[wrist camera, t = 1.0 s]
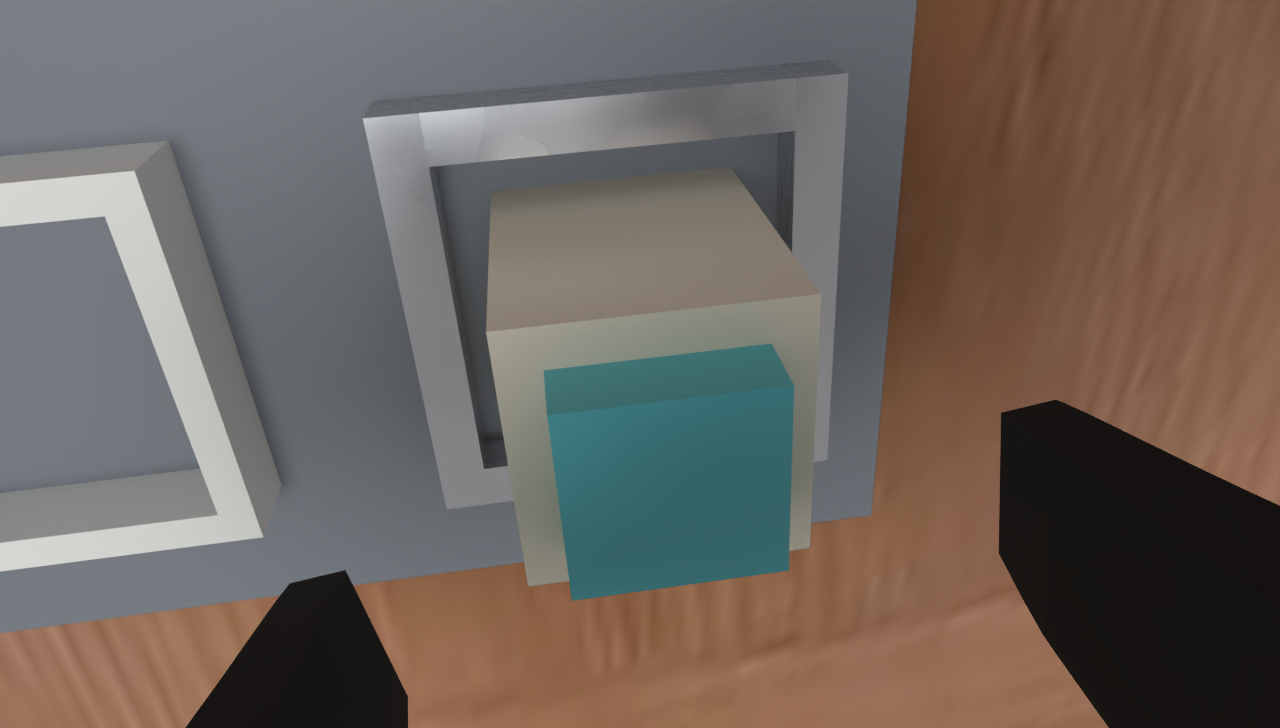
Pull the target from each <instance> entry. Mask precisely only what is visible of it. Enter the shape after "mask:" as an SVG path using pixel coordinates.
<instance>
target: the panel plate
mask: <svg viewBox="0 0 1280 728" xmlns="http://www.w3.org/2000/svg"><path fill="white" fill-rule="evenodd" d="M916 5H917V0H0V156H8V155H18V154H29V153H40V152H51V151H61V150H72V149H83V148H93V147H104V146H115V145H125V144H136V143H147V142H157V141H168V140H169V142H170V145H171V148H172V151H173V154H174V157H175V160H176V163H177V167H178V170H179V173H180V176H181V179H182V182H183V185H184V188H185V191H186V194H187V197H188V200H189V203H190V206H191V209H192V212H193V216H194V219H195V222H196V225H197V228H198V231H199V234H200V237H201V240H202V243H203V246H204V249H205V252H206V255H207V258H208V261H209V265H210V268H211V271H212V274H213V277H214V280H215V283H216V286H217V289H218V292H219V295H220V298H221V301H222V304H223V307H224V310H225V314H226V317H227V320H228V323H229V326H230V329H231V332H232V335H233V338H234V341H235V344H236V347H237V350H238V353H239V356H240V359H241V363H242V366H243V369H244V372H245V375H246V378H247V381H248V384H249V387H250V390H251V393H252V396H253V399H254V402H255V405H256V408H257V411H258V415H259V418H260V421H261V424H262V427H263V430H264V433H265V436H266V439H267V442H268V445H269V448H270V451H271V454H272V457H273V460H274V464H275V467H276V470H277V473H278V476H279V479H280V482H281V488H280V491H279V494H278V497H277V500H276V503H275V505H274V508H273V511H272V514H271V517H270V520H269V523H268V526H267V528H266V531H265V534H264V537H262V538H255V539H247V540H239V541H231V542H224V543H216V544H208V545H201V546H193V547H185V548H178V549H170V550H162V551H155V552H147V553H139V554H131V555H124V556H116V557H108V558H101V559H93V560H85V561H78V562H70V563H62V564H55V565H47V566H39V567H31V568H24V569H16V570H8V571H1V572H0V633H4V632H12V631H19V630H27V629H34V628H41V627H49V626H56V625H64V624H71V623H78V622H86V621H93V620H100V619H108V618H115V617H123V616H130V615H137V614H145V613H152V612H160V611H167V610H174V609H182V608H189V607H197V606H204V605H211V604H219V603H226V602H233V601H241V600H248V599H256V598H263V597H270V596H278V595H281V594H282V593H283V591H284V590H285V589H286V587H287V586H288V585H289V583H293V582H297V581H301V580H306V579H310V578H314V577H318V576H322V575H327V574H331V573H335V572H339V571H343V570H346V572H347V574H348V576H349V578H350V580H351V582H352V584H353V585H359V584H366V583H374V582H381V581H389V580H396V579H403V578H411V577H418V576H425V575H433V574H440V573H448V572H455V571H462V570H470V569H477V568H485V567H492V566H499V565H507V564H514V563H522V562H524V558H523V552H522V546H521V540H520V534H519V528H518V522H517V516H516V510H515V504H514V501H508V502H501V503H493V504H485V505H478V506H470V507H462V508H454V509H446V504H445V500H444V495H443V490H442V486H441V481H440V476H439V472H438V467H437V462H436V458H435V453H434V448H433V444H432V439H431V434H430V430H429V425H428V420H427V416H426V411H425V406H424V402H423V397H422V392H421V388H420V383H419V378H418V374H417V369H416V364H415V360H414V355H413V350H412V346H411V341H410V336H409V332H408V327H407V322H406V318H405V313H404V308H403V304H402V299H401V294H400V290H399V285H398V281H397V276H396V271H395V267H394V262H393V257H392V253H391V248H390V243H389V239H388V234H387V229H386V225H385V220H384V215H383V211H382V206H381V201H380V197H379V192H378V187H377V183H376V178H375V173H374V169H373V164H372V159H371V155H370V150H369V145H368V141H367V136H366V131H365V127H364V122H363V117H364V115H365V113H366V111H367V109H368V107H369V105H370V103H371V102H372V101H383V100H394V99H405V98H416V97H427V96H438V95H449V94H460V93H470V92H481V91H492V90H503V89H514V88H525V87H536V86H547V85H558V84H569V83H579V82H590V81H601V80H612V79H623V78H634V77H645V76H656V75H667V74H678V73H688V72H699V71H710V70H721V69H732V68H743V67H754V66H765V65H776V64H786V63H797V62H808V61H819V60H829V61H831V62H832V63H834V64H835V65H837V66H838V67H840V68H841V69H843V70H844V71H846V72H847V73H848V91H847V109H846V128H845V146H844V164H843V182H842V201H841V219H840V237H839V255H838V274H837V292H836V310H835V328H834V346H833V365H832V383H831V401H830V419H829V438H828V456H827V460H825V461H817V462H814V465H813V487H812V509H811V523H817V522H824V521H832V520H839V519H847V518H854V517H861V516H869V515H871V513H872V502H873V490H874V479H875V468H876V457H877V445H878V434H879V423H880V411H881V400H882V389H883V377H884V366H885V355H886V344H887V332H888V321H889V310H890V298H891V287H892V276H893V265H894V253H895V242H896V231H897V219H898V208H899V197H900V185H901V174H902V163H903V152H904V140H905V129H906V118H907V106H908V95H909V84H910V72H911V61H912V50H913V39H914V27H915V16H916ZM777 156H778V133H770V134H760V135H749V136H739V137H729V138H719V139H709V140H698V141H688V142H678V143H668V144H658V145H648V146H637V147H627V148H617V149H607V150H597V151H586V152H576V153H566V154H556V155H546V156H536V157H525V158H515V159H505V160H495V161H485V162H474V163H464V164H454V165H444V166H437V172H438V178H439V183H440V189H441V194H442V200H443V206H444V211H445V217H446V222H447V228H448V234H449V239H450V245H451V251H452V256H453V262H454V267H455V273H456V279H457V284H458V290H459V295H460V301H461V307H462V312H463V318H464V323H465V329H466V335H467V340H468V346H469V352H470V357H471V363H472V368H473V374H474V380H475V385H476V391H477V396H478V402H479V408H480V413H481V419H482V424H483V430H484V436H485V438H487V437H495V436H503V431H502V425H501V419H500V413H499V407H498V401H497V395H496V389H495V383H494V377H493V371H492V365H491V359H490V353H489V347H488V341H487V335H486V320H487V291H488V263H489V234H490V206H491V191H496V190H506V189H516V188H526V187H536V186H546V185H556V184H566V183H575V182H585V181H595V180H605V179H615V178H625V177H635V176H645V175H655V174H665V173H675V172H684V171H694V170H704V169H714V168H724V167H731V168H732V169H733V171H734V172H735V174H736V175H737V176H738V178H739V179H740V181H741V182H742V183H743V185H744V186H745V188H746V189H747V190H748V192H749V193H750V195H751V196H752V197H753V199H754V200H755V202H756V203H757V204H758V206H759V207H760V209H761V210H762V211H763V213H764V214H765V216H766V217H767V218H768V220H769V221H770V223H771V224H772V225H773V227H774V228H775V230H776V215H777ZM199 468H200V466H199V464H198V461H197V459H196V456H195V453H194V451H193V448H192V445H191V443H190V440H189V437H188V435H187V432H186V430H185V427H184V424H183V422H182V419H181V416H180V414H179V411H178V408H177V406H176V403H175V401H174V398H173V395H172V393H171V390H170V387H169V385H168V382H167V379H166V377H165V374H164V372H163V369H162V366H161V364H160V361H159V358H158V356H157V353H156V350H155V348H154V345H153V342H152V340H151V337H150V335H149V332H148V329H147V327H146V324H145V321H144V319H143V316H142V313H141V311H140V308H139V306H138V303H137V300H136V298H135V295H134V292H133V290H132V287H131V284H130V282H129V279H128V277H127V274H126V271H125V269H124V266H123V263H122V261H121V258H120V255H119V253H118V250H117V248H116V245H115V242H114V240H113V237H112V234H111V232H110V229H109V226H108V224H107V221H106V219H105V216H104V217H94V218H84V219H74V220H64V221H54V222H44V223H34V224H24V225H14V226H4V227H0V493H5V492H13V491H21V490H29V489H37V488H45V487H53V486H61V485H70V484H78V483H86V482H94V481H102V480H110V479H118V478H126V477H134V476H143V475H151V474H159V473H167V472H175V471H183V470H191V469H199Z"/></svg>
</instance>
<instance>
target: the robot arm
mask: <svg viewBox="0 0 1280 728" xmlns="http://www.w3.org/2000/svg"><path fill="white" fill-rule="evenodd" d="M999 554H1000V556H1001V558H1002V560H1003V562H1004V564H1005V566H1006V568H1007V570H1008V572H1009V573H1010V575H1011V577H1012V579H1013V581H1014V583H1015V585H1016V587H1017V589H1018V591H1019V593H1020V594H1021V596H1022V598H1023V600H1024V602H1025V604H1026V605H1027V607H1028V609H1029V611H1030V612H1031V614H1032V616H1033V618H1034V620H1035V621H1036V623H1037V625H1038V627H1039V629H1040V630H1041V632H1042V634H1043V635H1044V637H1045V638H1046V640H1047V641H1048V643H1049V644H1050V646H1051V647H1052V648H1053V650H1054V651H1055V653H1056V654H1057V656H1058V657H1059V658H1060V660H1061V661H1062V663H1063V664H1064V665H1065V667H1066V668H1067V670H1068V671H1069V673H1070V674H1071V675H1072V677H1073V678H1074V680H1075V681H1076V682H1077V684H1078V685H1079V687H1080V688H1081V689H1082V691H1083V692H1084V694H1085V695H1086V696H1087V698H1088V699H1089V701H1090V702H1091V703H1092V705H1093V706H1094V708H1095V709H1096V710H1097V712H1098V713H1099V715H1100V716H1101V717H1102V719H1103V720H1104V721H1105V723H1106V724H1107V726H1108V727H1109V728H1280V506H1279V505H1277V504H1275V503H1272V502H1270V501H1268V500H1266V499H1264V498H1262V497H1259V496H1257V495H1255V494H1253V493H1251V492H1249V491H1246V490H1244V489H1242V488H1240V487H1238V486H1236V485H1234V484H1232V483H1229V482H1227V481H1225V480H1223V479H1221V478H1219V477H1217V476H1215V475H1212V474H1210V473H1208V472H1206V471H1204V470H1202V469H1200V468H1198V467H1196V466H1194V465H1192V464H1190V463H1188V462H1185V461H1183V460H1181V459H1179V458H1177V457H1175V456H1173V455H1171V454H1169V453H1167V452H1165V451H1163V450H1161V449H1159V448H1157V447H1155V446H1153V445H1151V444H1149V443H1147V442H1145V441H1143V440H1141V439H1138V438H1136V437H1134V436H1132V435H1130V434H1128V433H1126V432H1124V431H1122V430H1120V429H1118V428H1116V427H1114V426H1112V425H1110V424H1108V423H1106V422H1104V421H1102V420H1100V419H1097V418H1095V417H1093V416H1091V415H1089V414H1087V413H1085V412H1083V411H1081V410H1078V409H1076V408H1074V407H1072V406H1069V405H1067V404H1065V403H1063V402H1060V401H1058V400H1053V401H1049V402H1044V403H1040V404H1036V405H1032V406H1028V407H1024V408H1019V409H1015V410H1011V411H1007V412H1003V413H1001V458H1000V517H999ZM186 728H408V696H407V694H406V692H405V690H404V688H403V686H402V684H401V682H400V680H399V678H398V676H397V674H396V672H395V670H394V668H393V666H392V664H391V662H390V660H389V658H388V656H387V653H386V651H385V649H384V647H383V645H382V643H381V641H380V639H379V637H378V635H377V633H376V631H375V629H374V627H373V625H372V623H371V621H370V619H369V617H368V615H367V613H366V611H365V609H364V607H363V605H362V603H361V601H360V599H359V596H358V594H357V592H356V590H355V588H354V586H353V584H352V582H351V580H350V578H349V576H348V574H347V572H346V570H343V571H339V572H335V573H331V574H327V575H322V576H318V577H314V578H310V579H306V580H301V581H297V582H293V583H289V585H288V586H287V587H286V589H285V590H284V591H283V593H282V594H281V595H280V597H279V598H278V599H277V601H276V602H275V603H274V605H273V606H272V607H271V609H270V610H269V612H268V613H267V614H266V616H265V617H264V619H263V620H262V621H261V623H260V624H259V626H258V627H257V628H256V630H255V631H254V633H253V634H252V636H251V637H250V638H249V640H248V641H247V643H246V644H245V646H244V647H243V648H242V650H241V651H240V653H239V654H238V655H237V657H236V658H235V660H234V661H233V663H232V664H231V665H230V667H229V668H228V670H227V671H226V672H225V674H224V675H223V677H222V678H221V680H220V681H219V682H218V684H217V685H216V687H215V688H214V689H213V691H212V692H211V693H210V695H209V696H208V698H207V699H206V700H205V702H204V703H203V704H202V706H201V707H200V709H199V710H198V711H197V713H196V714H195V715H194V717H193V718H192V720H191V721H190V722H189V724H188V725H187V726H186Z"/></svg>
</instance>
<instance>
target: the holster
mask: <svg viewBox="0 0 1280 728" xmlns="http://www.w3.org/2000/svg"><path fill="white" fill-rule="evenodd" d="M847 91H848V73H847V72H846V71H844V70H843V69H841V68H840V67H838V66H837V65H835V64H834V63H832V62H831V61H829V60H819V61H808V62H797V63H786V64H776V65H765V66H754V67H743V68H732V69H721V70H710V71H699V72H688V73H678V74H667V75H656V76H645V77H634V78H623V79H612V80H601V81H590V82H579V83H569V84H558V85H547V86H536V87H525V88H514V89H503V90H492V91H481V92H470V93H460V94H449V95H438V96H427V97H416V98H405V99H394V100H383V101H372V102H371V103H370V105H369V107H368V109H367V111H366V113H365V115H364V117H363V122H364V127H365V131H366V136H367V141H368V145H369V150H370V155H371V159H372V164H373V169H374V173H375V178H376V183H377V187H378V192H379V197H380V201H381V206H382V211H383V215H384V220H385V225H386V229H387V234H388V239H389V243H390V248H391V253H392V257H393V262H394V267H395V271H396V276H397V281H398V285H399V290H400V294H401V299H402V304H403V308H404V313H405V318H406V322H407V327H408V332H409V336H410V341H411V346H412V350H413V355H414V360H415V364H416V369H417V374H418V378H419V383H420V388H421V392H422V397H423V402H424V406H425V411H426V416H427V420H428V425H429V430H430V434H431V439H432V444H433V448H434V453H435V458H436V462H437V467H438V472H439V476H440V481H441V486H442V490H443V495H444V500H445V504H446V509H454V508H462V507H470V506H478V505H485V504H493V503H501V502H508V501H514V498H513V492H512V486H511V480H510V474H509V468H508V462H507V456H506V450H505V443H504V437H503V436H495V437H487V438H485V436H484V430H483V424H482V419H481V413H480V408H479V402H478V396H477V391H476V385H475V380H474V374H473V368H472V363H471V357H470V352H469V346H468V340H467V335H466V329H465V323H464V318H463V312H462V307H461V301H460V295H459V290H458V284H457V279H456V273H455V267H454V262H453V256H452V251H451V245H450V239H449V234H448V228H447V222H446V217H445V211H444V206H443V200H442V194H441V189H440V183H439V178H438V172H437V166H444V165H454V164H464V163H474V162H485V161H495V160H505V159H515V158H525V157H536V156H546V155H556V154H566V153H576V152H586V151H597V150H607V149H617V148H627V147H637V146H648V145H658V144H668V143H678V142H688V141H698V140H709V139H719V138H729V137H739V136H749V135H760V134H770V133H778V156H777V215H776V231H777V233H778V234H779V235H780V237H781V238H782V240H783V241H784V242H785V244H786V245H787V247H788V248H789V249H790V251H791V252H792V254H793V255H794V256H795V258H796V259H797V261H798V262H799V263H800V265H801V266H802V268H803V269H804V270H805V272H806V273H807V275H808V276H809V277H810V279H811V280H812V282H813V283H814V284H815V286H816V287H817V289H818V290H819V291H820V293H821V311H820V333H819V355H818V377H817V399H816V421H815V443H814V462H817V461H825V460H827V456H828V438H829V419H830V401H831V383H832V365H833V346H834V328H835V310H836V292H837V274H838V255H839V237H840V219H841V201H842V182H843V164H844V146H845V128H846V109H847Z"/></svg>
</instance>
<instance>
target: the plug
mask: <svg viewBox="0 0 1280 728" xmlns="http://www.w3.org/2000/svg"><path fill="white" fill-rule="evenodd" d="M820 311H821V293H820V291H819V290H818V289H817V287H816V286H815V284H814V283H813V282H812V280H811V279H810V277H809V276H808V275H807V273H806V272H805V270H804V269H803V268H802V266H801V265H800V263H799V262H798V261H797V259H796V258H795V256H794V255H793V254H792V252H791V251H790V249H789V248H788V247H787V245H786V244H785V242H784V241H783V240H782V238H781V237H780V235H779V234H778V233H777V231H776V230H775V228H774V227H773V225H772V224H771V223H770V221H769V220H768V218H767V217H766V216H765V214H764V213H763V211H762V210H761V209H760V207H759V206H758V204H757V203H756V202H755V200H754V199H753V197H752V196H751V195H750V193H749V192H748V190H747V189H746V188H745V186H744V185H743V183H742V182H741V181H740V179H739V178H738V176H737V175H736V174H735V172H734V171H733V169H732V168H731V167H724V168H714V169H704V170H694V171H684V172H675V173H665V174H655V175H645V176H635V177H625V178H615V179H605V180H595V181H585V182H575V183H566V184H556V185H546V186H536V187H526V188H516V189H506V190H496V191H491V206H490V234H489V263H488V291H487V320H486V335H487V341H488V347H489V353H490V359H491V365H492V371H493V377H494V383H495V389H496V395H497V401H498V407H499V413H500V419H501V425H502V431H503V437H504V443H505V450H506V456H507V462H508V468H509V474H510V480H511V486H512V492H513V498H514V504H515V510H516V516H517V522H518V528H519V534H520V540H521V546H522V552H523V558H524V564H525V570H526V576H527V582H528V587H529V586H536V585H543V584H550V583H558V582H565V581H569V583H570V591H571V598H572V601H574V600H581V599H588V598H595V597H602V596H609V595H617V594H624V593H631V592H638V591H645V590H652V589H660V588H667V587H674V586H681V585H688V584H695V583H703V582H710V581H717V580H724V579H731V578H738V577H746V576H753V575H760V574H767V573H774V572H781V571H789V551H790V550H797V549H805V548H810V531H811V509H812V487H813V465H814V443H815V421H816V399H817V377H818V355H819V333H820Z"/></svg>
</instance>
